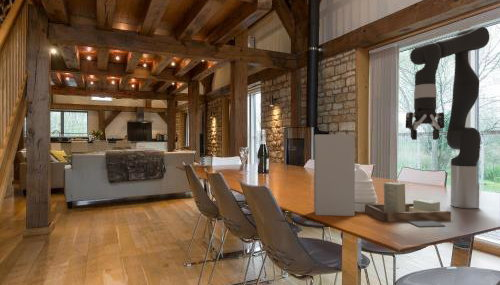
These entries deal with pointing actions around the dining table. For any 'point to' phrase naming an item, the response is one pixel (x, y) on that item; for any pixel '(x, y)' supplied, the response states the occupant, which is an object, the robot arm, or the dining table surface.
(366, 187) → the honey pot
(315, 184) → the tall grey box
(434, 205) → the offcut upper
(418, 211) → the offcut lower
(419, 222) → the felt mat
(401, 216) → the rack
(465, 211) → the dining table surface
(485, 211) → the dining table surface
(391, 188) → the skincare box
